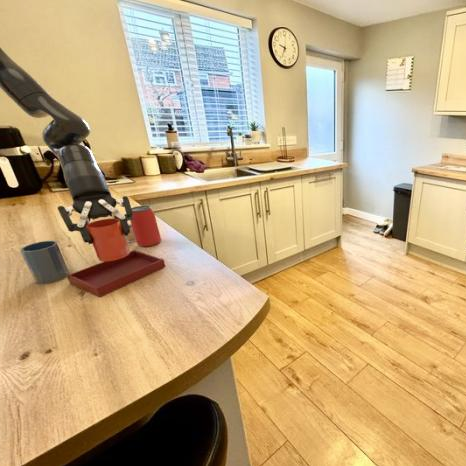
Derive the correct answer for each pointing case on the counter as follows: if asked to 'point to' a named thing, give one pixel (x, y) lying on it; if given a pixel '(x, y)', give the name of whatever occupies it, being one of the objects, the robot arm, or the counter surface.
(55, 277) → the blue cup
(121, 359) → the counter surface
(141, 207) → the beer can
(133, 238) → the stacked layers on plate
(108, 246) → the red cup
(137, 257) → the red tray
